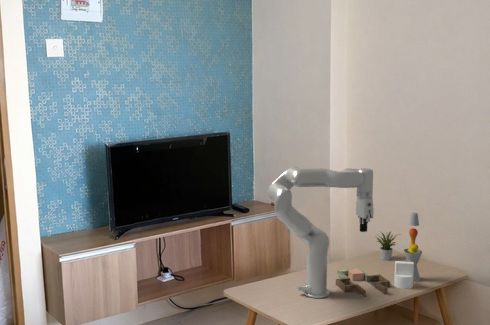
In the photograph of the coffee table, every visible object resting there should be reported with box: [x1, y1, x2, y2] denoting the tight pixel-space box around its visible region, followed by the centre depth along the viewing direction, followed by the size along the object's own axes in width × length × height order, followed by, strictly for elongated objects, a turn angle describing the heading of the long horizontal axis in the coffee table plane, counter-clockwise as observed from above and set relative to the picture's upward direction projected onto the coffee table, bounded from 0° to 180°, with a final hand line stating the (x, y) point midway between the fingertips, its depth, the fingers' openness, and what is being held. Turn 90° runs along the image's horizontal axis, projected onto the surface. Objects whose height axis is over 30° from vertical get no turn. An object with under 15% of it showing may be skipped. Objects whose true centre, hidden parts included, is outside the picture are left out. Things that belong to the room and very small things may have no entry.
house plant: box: [375, 231, 402, 261], centre depth 327 cm, size 14×14×16 cm
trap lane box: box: [335, 268, 391, 298], centre depth 288 cm, size 24×29×3 cm
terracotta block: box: [347, 268, 365, 282], centre depth 296 cm, size 6×6×4 cm
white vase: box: [393, 260, 414, 290], centre depth 286 cm, size 9×9×12 cm
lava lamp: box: [403, 212, 423, 283], centre depth 293 cm, size 9×9×35 cm
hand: (363, 231), depth 278 cm, fingers closed
